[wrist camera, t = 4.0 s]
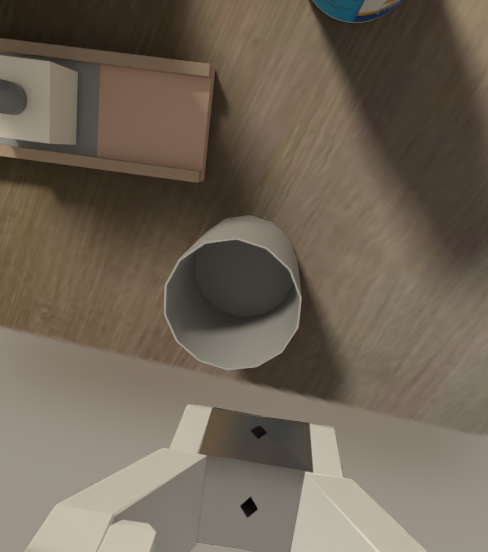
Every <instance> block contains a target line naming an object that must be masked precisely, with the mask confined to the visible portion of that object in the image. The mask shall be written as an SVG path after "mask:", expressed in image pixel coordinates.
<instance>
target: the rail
mask: <svg viewBox="0 0 488 552" xmlns="http://www.w3.org/2000/svg"><path fill="white" fill-rule="evenodd" d="M0 55H2V56H11V57H19V58H27V59H35V60H43V61H50V62H53V63H55V64H58V65H61V66H63V67H66V68H68V69H71V70H73V71H76V72H78V90H77V129H76V145H71V144H48V143H41V142H33V141H26V140H18V139H11V138H3V137H0V156H5V157H12V158H19V159H27V160H34V161H41V162H49V163H56V164H63V165H71V166H78V167H85V168H93V169H100V170H108V171H115V172H122V173H130V174H137V175H144V176H152V177H159V178H166V179H174V180H181V181H188V182H196V183H199V182H202V181H204V177H205V167H206V158H207V148H208V138H209V128H210V118H211V108H212V98H213V88H214V78H215V69H214V68H213V67H212V66H211V64H208V63H200V62H192V61H184V60H175V59H167V58H159V57H151V56H143V55H134V54H126V53H118V52H110V51H102V50H93V49H85V48H77V47H69V46H61V45H53V44H44V43H36V42H28V41H20V40H12V39H3V38H0Z"/></svg>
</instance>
